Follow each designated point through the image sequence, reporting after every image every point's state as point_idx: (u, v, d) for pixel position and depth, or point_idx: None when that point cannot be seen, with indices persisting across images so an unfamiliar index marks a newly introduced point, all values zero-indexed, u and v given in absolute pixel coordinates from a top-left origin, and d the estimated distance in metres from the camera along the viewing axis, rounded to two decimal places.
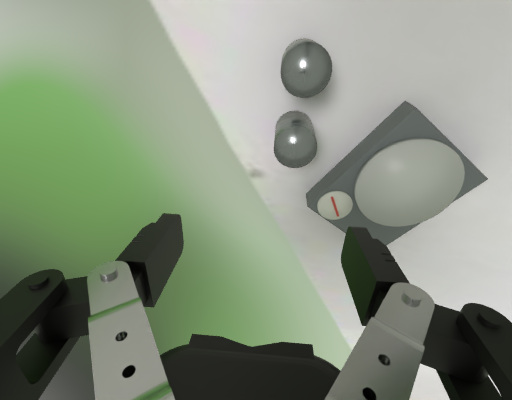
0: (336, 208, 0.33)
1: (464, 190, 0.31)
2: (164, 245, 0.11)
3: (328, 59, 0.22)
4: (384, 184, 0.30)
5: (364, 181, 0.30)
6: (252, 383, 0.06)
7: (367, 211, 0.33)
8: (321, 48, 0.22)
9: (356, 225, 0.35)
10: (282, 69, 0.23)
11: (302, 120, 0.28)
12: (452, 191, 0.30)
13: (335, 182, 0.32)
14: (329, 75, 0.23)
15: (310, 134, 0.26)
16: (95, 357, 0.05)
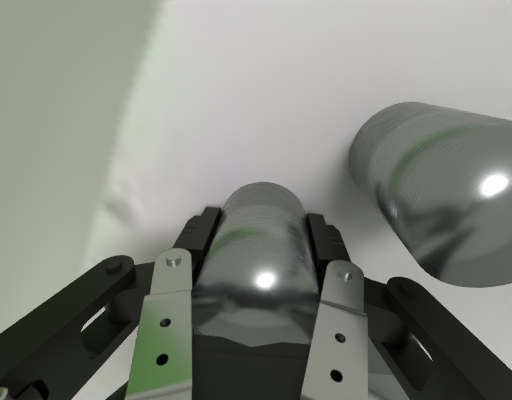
0: None
1: None
2: (212, 235, 0.11)
3: None
4: None
5: None
6: (252, 383, 0.06)
7: None
8: None
9: None
10: (486, 149, 0.06)
11: (311, 250, 0.11)
12: None
13: None
14: None
15: None
16: (140, 335, 0.06)
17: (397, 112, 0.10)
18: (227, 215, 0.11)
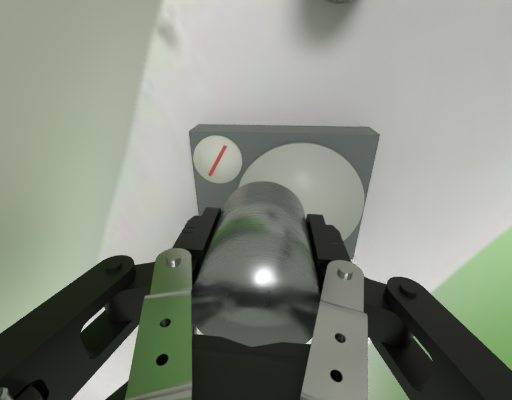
0: (216, 164, 0.23)
1: None
2: (212, 235, 0.11)
3: None
4: (285, 182, 0.23)
5: (272, 159, 0.22)
6: (252, 383, 0.06)
7: None
8: None
9: (216, 205, 0.26)
10: None
11: (311, 249, 0.11)
12: None
13: (245, 134, 0.22)
14: None
15: None
16: (140, 335, 0.06)
17: None
18: (227, 214, 0.11)
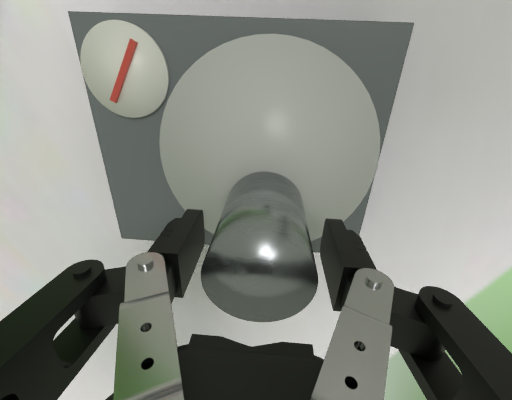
0: (122, 79, 0.13)
1: (317, 246, 0.17)
2: (190, 238, 0.11)
3: None
4: (242, 113, 0.13)
5: (218, 66, 0.12)
6: (252, 383, 0.06)
7: (170, 141, 0.14)
8: None
9: (133, 159, 0.15)
10: None
11: (308, 230, 0.12)
12: (310, 230, 0.16)
13: (169, 18, 0.12)
14: None
15: (313, 289, 0.10)
16: (120, 343, 0.06)
17: None
18: (232, 199, 0.12)
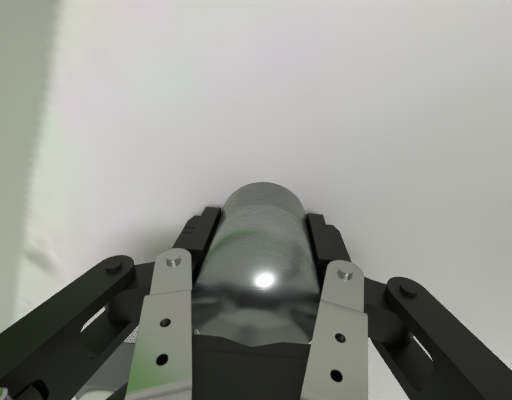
0: None
1: None
2: (212, 235, 0.11)
3: (313, 330, 0.09)
4: None
5: None
6: (252, 383, 0.06)
7: None
8: None
9: None
10: (211, 275, 0.08)
11: None
12: None
13: None
14: None
15: None
16: (140, 335, 0.06)
17: (233, 201, 0.12)
18: None
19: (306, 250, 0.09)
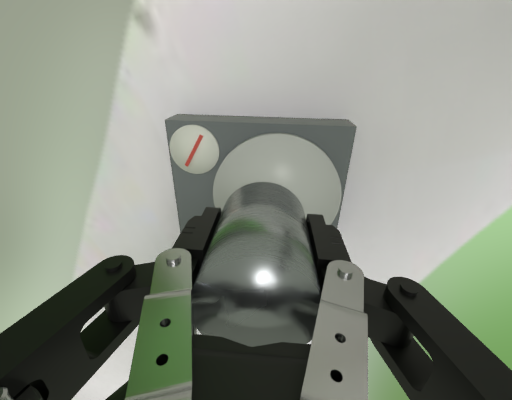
0: (193, 154, 0.23)
1: None
2: (212, 235, 0.11)
3: (313, 329, 0.09)
4: (262, 173, 0.23)
5: (249, 150, 0.22)
6: (252, 383, 0.06)
7: (219, 188, 0.24)
8: None
9: (194, 196, 0.25)
10: (210, 274, 0.08)
11: None
12: None
13: (221, 123, 0.22)
14: None
15: None
16: (140, 335, 0.06)
17: (232, 200, 0.12)
18: None
19: (306, 249, 0.09)
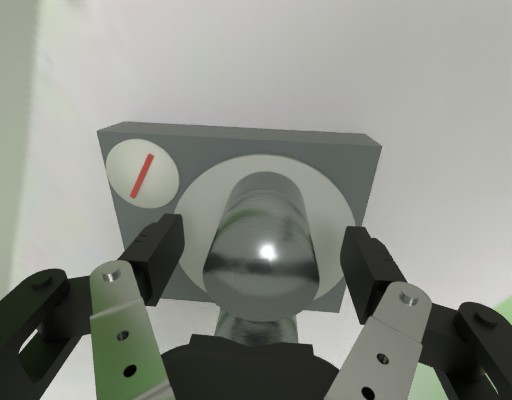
0: (141, 181, 0.16)
1: (307, 306, 0.20)
2: (165, 244, 0.11)
3: (310, 296, 0.10)
4: None
5: (221, 178, 0.15)
6: (252, 383, 0.06)
7: None
8: (315, 275, 0.09)
9: None
10: (222, 246, 0.09)
11: (295, 315, 0.14)
12: None
13: (181, 138, 0.15)
14: (290, 314, 0.10)
15: None
16: (97, 356, 0.05)
17: (239, 188, 0.13)
18: None
19: (304, 228, 0.11)
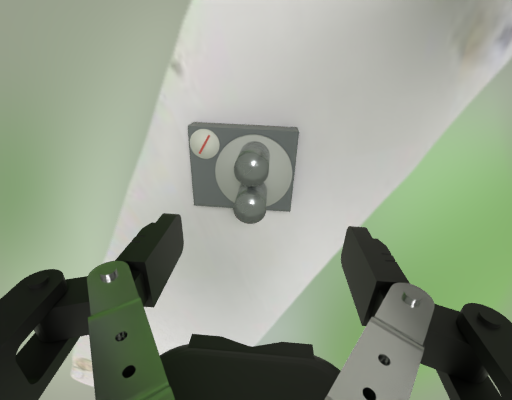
0: (204, 146, 0.38)
1: (275, 208, 0.43)
2: (164, 245, 0.11)
3: (266, 175, 0.33)
4: None
5: (237, 144, 0.37)
6: (252, 383, 0.06)
7: (219, 167, 0.39)
8: (267, 167, 0.32)
9: (203, 173, 0.41)
10: (240, 158, 0.32)
11: (265, 197, 0.37)
12: (270, 200, 0.41)
13: (221, 128, 0.37)
14: (260, 183, 0.33)
15: (264, 211, 0.35)
16: (95, 357, 0.05)
17: (244, 146, 0.36)
18: (241, 187, 0.37)
19: (265, 156, 0.33)
